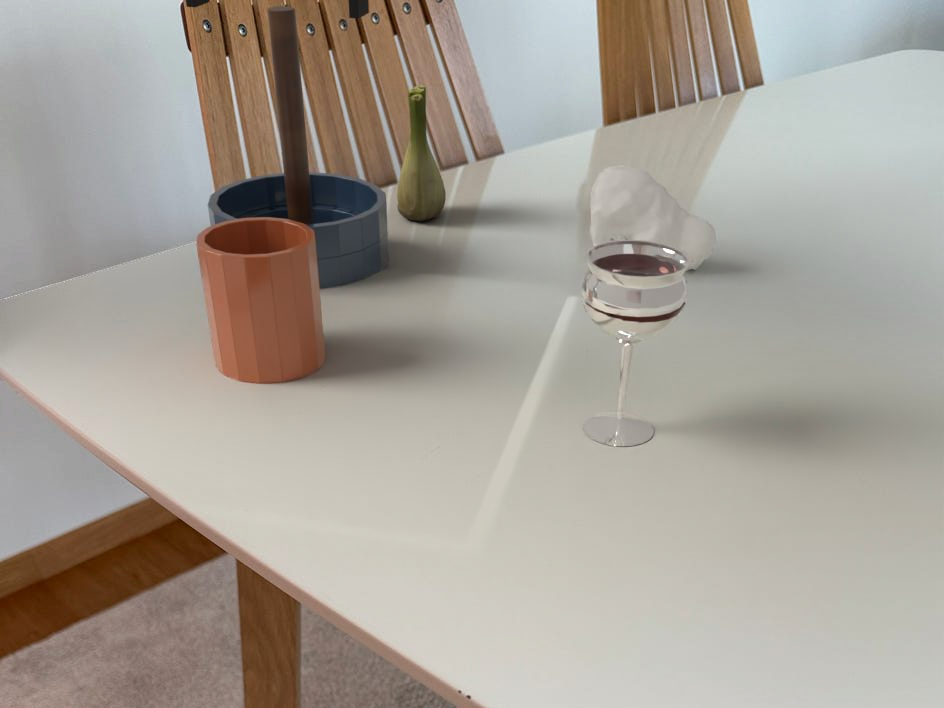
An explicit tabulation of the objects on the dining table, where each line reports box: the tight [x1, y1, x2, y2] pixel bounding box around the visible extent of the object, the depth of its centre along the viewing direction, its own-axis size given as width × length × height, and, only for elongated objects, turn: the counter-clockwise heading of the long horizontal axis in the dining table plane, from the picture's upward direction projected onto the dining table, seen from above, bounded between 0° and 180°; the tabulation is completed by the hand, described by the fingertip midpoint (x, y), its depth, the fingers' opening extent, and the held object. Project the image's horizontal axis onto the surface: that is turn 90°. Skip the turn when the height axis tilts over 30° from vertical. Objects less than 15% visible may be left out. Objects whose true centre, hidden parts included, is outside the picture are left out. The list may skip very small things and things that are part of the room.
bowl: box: [207, 171, 390, 290], centre depth 95 cm, size 16×16×6 cm
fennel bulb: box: [396, 84, 447, 222], centre depth 104 cm, size 6×5×12 cm
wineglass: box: [581, 239, 690, 447], centre depth 70 cm, size 7×7×12 cm
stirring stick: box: [267, 5, 314, 225], centre depth 90 cm, size 3×2×20 cm
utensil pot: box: [195, 217, 326, 385], centre depth 77 cm, size 8×8×10 cm
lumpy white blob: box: [589, 164, 717, 272], centre depth 95 cm, size 6×8×12 cm
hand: (277, 10), depth 83 cm, fingers open, 13 cm apart
